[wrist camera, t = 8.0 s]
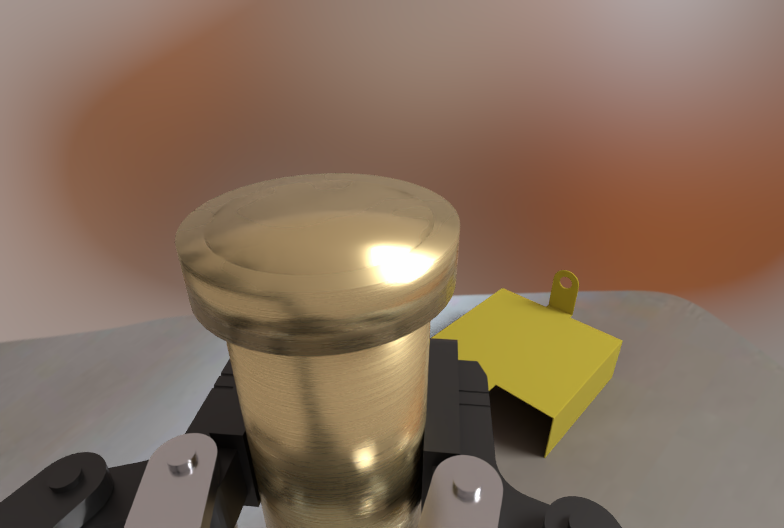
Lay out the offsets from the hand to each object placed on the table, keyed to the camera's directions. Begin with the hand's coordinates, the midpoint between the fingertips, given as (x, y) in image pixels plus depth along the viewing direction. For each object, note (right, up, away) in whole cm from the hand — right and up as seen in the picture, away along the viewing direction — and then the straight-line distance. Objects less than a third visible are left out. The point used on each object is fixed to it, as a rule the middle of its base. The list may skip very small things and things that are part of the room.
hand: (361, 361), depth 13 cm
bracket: (+9, -8, +24) cm, 27 cm away
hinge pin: (0, -7, +1) cm, 7 cm away
